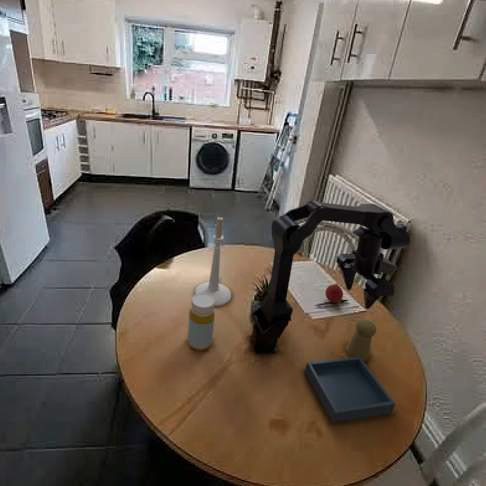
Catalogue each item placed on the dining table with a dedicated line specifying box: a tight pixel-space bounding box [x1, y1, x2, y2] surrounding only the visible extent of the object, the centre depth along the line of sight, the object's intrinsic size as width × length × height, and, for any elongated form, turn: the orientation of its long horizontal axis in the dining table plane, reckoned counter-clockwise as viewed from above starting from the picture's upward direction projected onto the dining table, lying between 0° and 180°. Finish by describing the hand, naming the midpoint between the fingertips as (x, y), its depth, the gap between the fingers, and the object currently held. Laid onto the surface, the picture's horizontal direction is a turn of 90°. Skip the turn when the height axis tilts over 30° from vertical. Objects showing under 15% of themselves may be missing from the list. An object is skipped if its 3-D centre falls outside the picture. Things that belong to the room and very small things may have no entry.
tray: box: [304, 356, 396, 424], centre depth 77 cm, size 16×14×4 cm
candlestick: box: [194, 216, 232, 308], centre depth 104 cm, size 13×13×30 cm
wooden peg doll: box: [345, 318, 377, 362], centre depth 88 cm, size 6×6×11 cm
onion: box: [325, 282, 344, 303], centre depth 109 cm, size 6×6×8 cm
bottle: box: [187, 293, 216, 351], centre depth 86 cm, size 7×7×15 cm
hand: (357, 298), depth 90 cm, fingers open, 9 cm apart
